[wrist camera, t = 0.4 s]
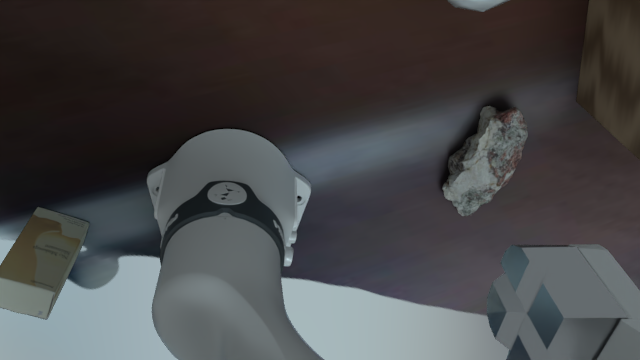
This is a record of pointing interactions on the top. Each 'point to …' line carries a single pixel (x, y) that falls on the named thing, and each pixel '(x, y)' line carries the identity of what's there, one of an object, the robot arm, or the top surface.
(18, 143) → the top surface
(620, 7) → the walnut block
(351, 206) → the top surface
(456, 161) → the mineral rock
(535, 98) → the top surface
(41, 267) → the skincare box
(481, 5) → the potion bottle
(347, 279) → the top surface
